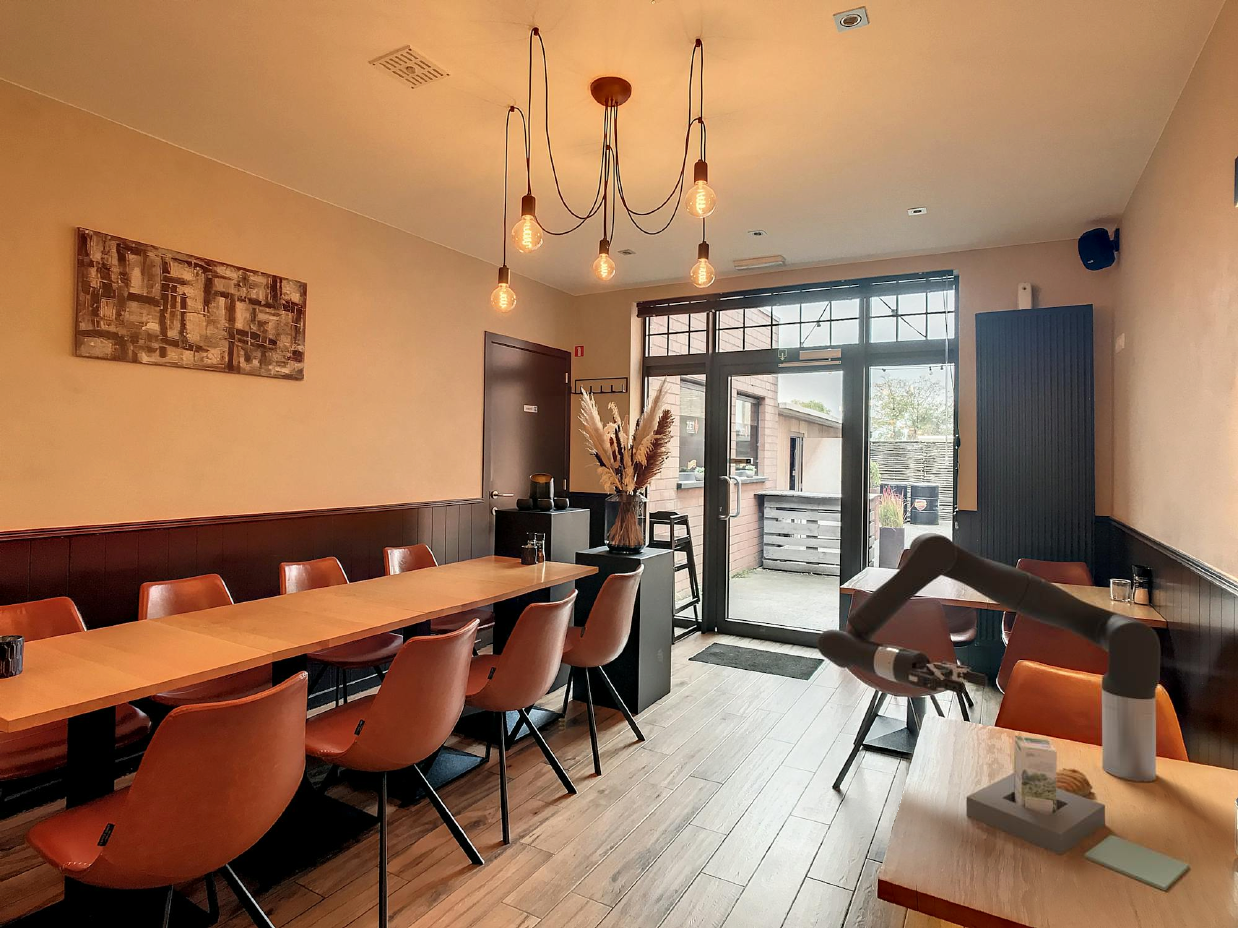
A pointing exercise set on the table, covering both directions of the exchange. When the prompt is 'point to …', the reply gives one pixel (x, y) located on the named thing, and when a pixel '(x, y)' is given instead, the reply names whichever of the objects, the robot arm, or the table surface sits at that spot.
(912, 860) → the table surface
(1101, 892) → the table surface
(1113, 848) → the sage mat
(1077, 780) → the pastry
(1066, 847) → the socket block
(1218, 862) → the table surface
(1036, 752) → the syrup box
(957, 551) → the robot arm
